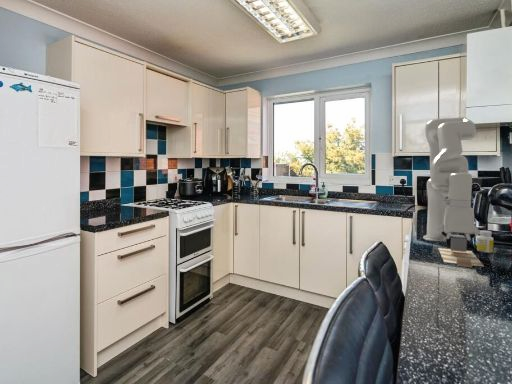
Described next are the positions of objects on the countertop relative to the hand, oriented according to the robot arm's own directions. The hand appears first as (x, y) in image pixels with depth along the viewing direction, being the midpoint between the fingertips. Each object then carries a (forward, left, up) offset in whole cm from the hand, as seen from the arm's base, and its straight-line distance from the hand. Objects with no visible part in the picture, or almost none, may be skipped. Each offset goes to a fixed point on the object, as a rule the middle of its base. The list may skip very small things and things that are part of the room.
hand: (457, 248), depth 122 cm
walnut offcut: (+16, 0, -3) cm, 17 cm away
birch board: (+4, 0, -4) cm, 5 cm away
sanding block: (0, 0, 0) cm, 0 cm away
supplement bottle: (-10, +11, -4) cm, 15 cm away
